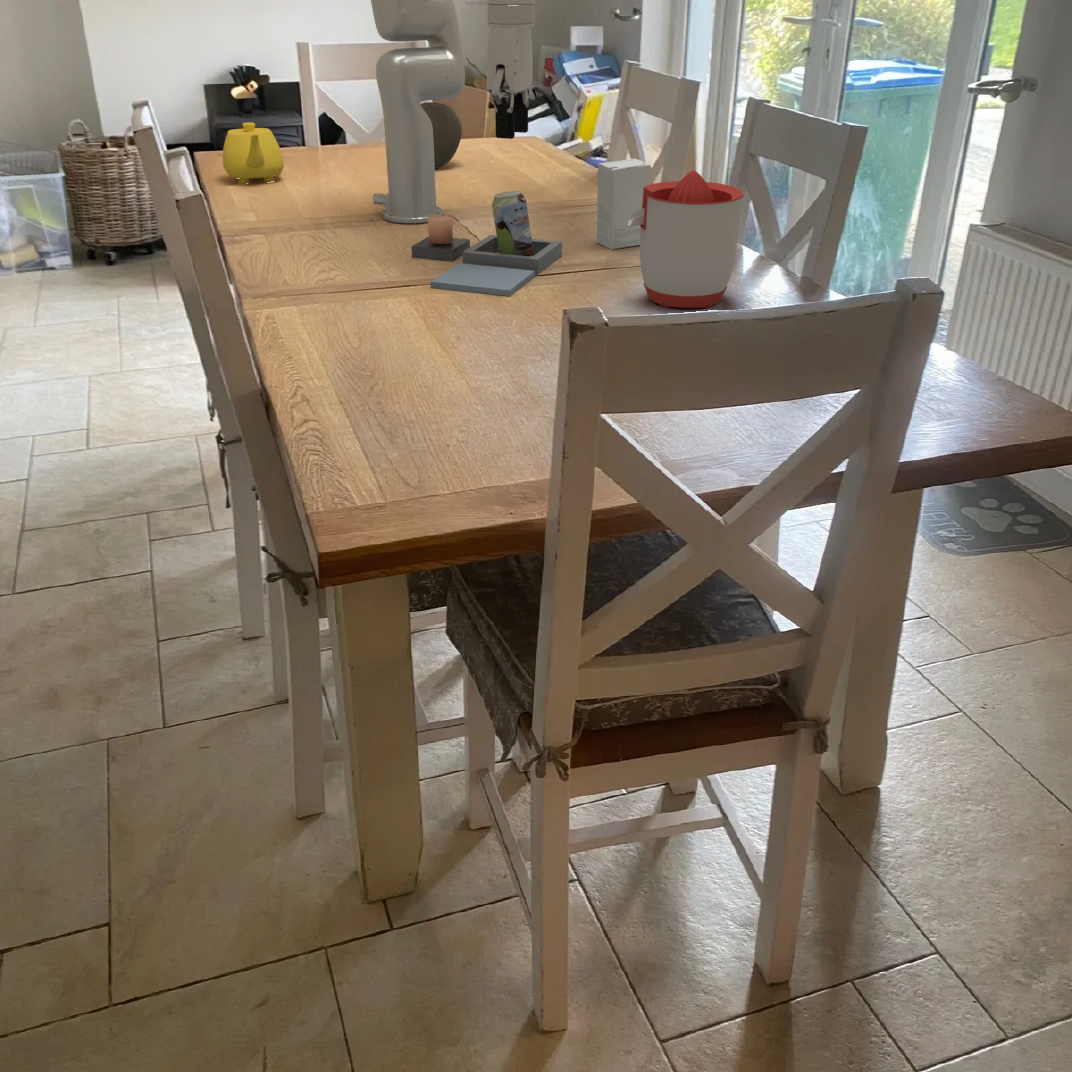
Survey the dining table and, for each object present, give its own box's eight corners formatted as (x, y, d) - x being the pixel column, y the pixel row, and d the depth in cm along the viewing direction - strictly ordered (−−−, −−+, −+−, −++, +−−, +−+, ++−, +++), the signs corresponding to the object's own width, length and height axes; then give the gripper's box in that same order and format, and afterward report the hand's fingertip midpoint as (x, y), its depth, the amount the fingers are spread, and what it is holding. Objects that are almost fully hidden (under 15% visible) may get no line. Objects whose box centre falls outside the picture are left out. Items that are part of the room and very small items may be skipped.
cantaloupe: (460, 172, 260) (458, 106, 252) (402, 172, 260) (398, 106, 253) (464, 161, 272) (462, 98, 265) (409, 161, 272) (405, 98, 265)
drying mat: (430, 287, 177) (430, 281, 176) (459, 268, 187) (459, 263, 186) (509, 296, 173) (509, 290, 172) (534, 276, 183) (534, 270, 182)
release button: (424, 242, 193) (423, 219, 191) (434, 236, 197) (433, 214, 195) (447, 244, 192) (446, 221, 190) (456, 238, 195) (456, 216, 193)
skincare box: (632, 238, 206) (636, 157, 198) (648, 245, 201) (653, 163, 193) (594, 243, 202) (596, 161, 195) (609, 250, 198) (612, 167, 190)
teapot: (280, 171, 261) (274, 116, 254) (291, 188, 244) (285, 129, 238) (222, 175, 257) (214, 118, 250) (230, 192, 240) (222, 132, 234)
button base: (412, 257, 193) (411, 246, 192) (430, 246, 200) (430, 235, 199) (452, 261, 191) (452, 250, 190) (470, 250, 197) (469, 239, 196)
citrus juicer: (622, 284, 179) (628, 159, 169) (726, 285, 178) (738, 160, 168) (626, 313, 165) (632, 180, 155) (739, 315, 165) (752, 181, 155)
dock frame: (462, 266, 188) (462, 252, 187) (490, 248, 199) (490, 234, 197) (537, 274, 184) (537, 259, 183) (561, 255, 195) (561, 241, 193)
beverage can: (529, 266, 188) (529, 196, 182) (489, 264, 189) (487, 194, 183) (536, 257, 193) (537, 189, 187) (497, 255, 195) (496, 187, 189)
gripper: (508, 12, 180) (509, 126, 189) (468, 19, 166) (472, 142, 175) (550, 13, 178) (549, 128, 187) (514, 20, 164) (514, 144, 173)
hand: (512, 133), depth 181 cm, fingers open, 5 cm apart
